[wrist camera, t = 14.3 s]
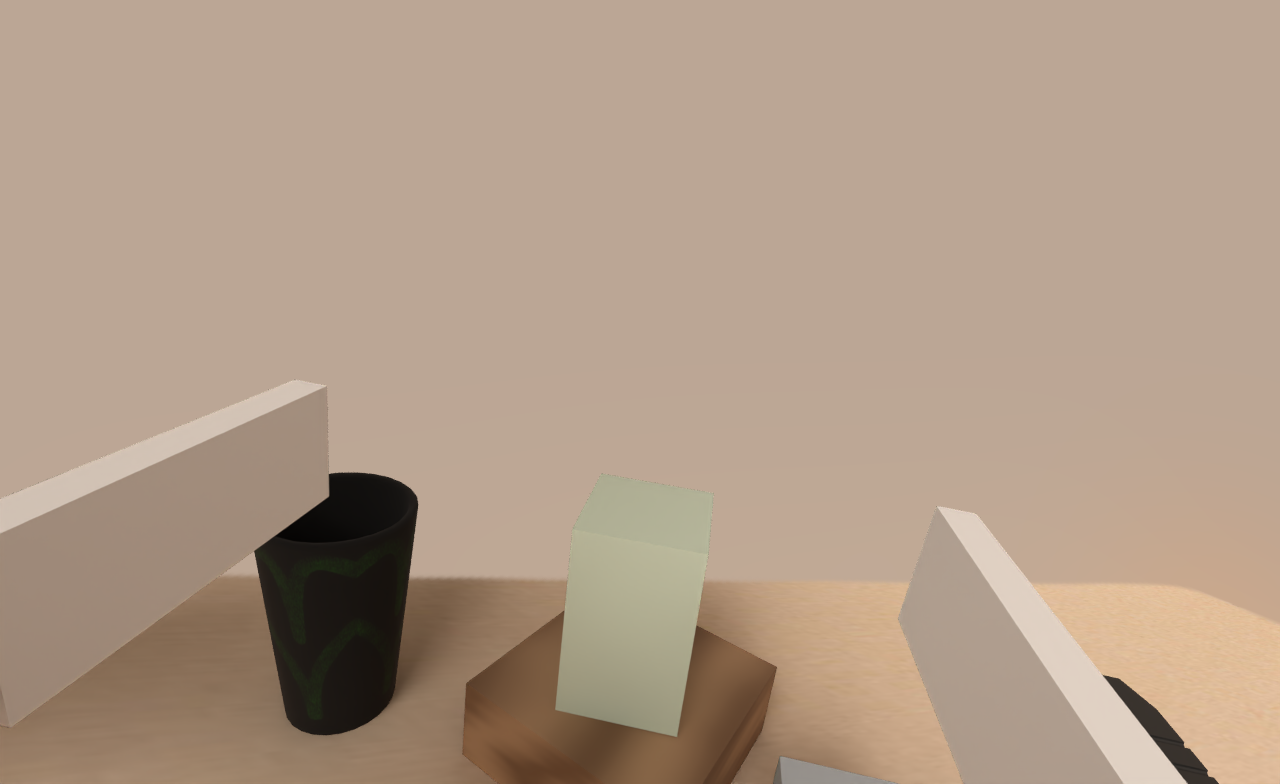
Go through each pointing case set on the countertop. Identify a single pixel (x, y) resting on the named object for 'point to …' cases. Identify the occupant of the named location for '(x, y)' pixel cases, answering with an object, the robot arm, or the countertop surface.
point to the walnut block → (604, 751)
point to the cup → (340, 601)
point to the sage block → (633, 602)
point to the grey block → (817, 774)
